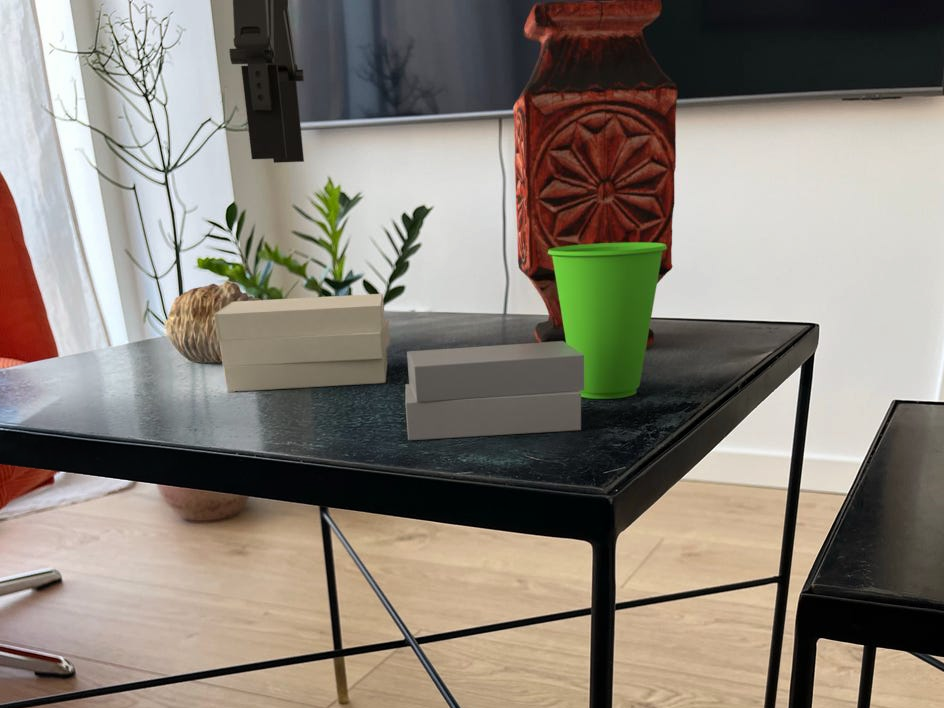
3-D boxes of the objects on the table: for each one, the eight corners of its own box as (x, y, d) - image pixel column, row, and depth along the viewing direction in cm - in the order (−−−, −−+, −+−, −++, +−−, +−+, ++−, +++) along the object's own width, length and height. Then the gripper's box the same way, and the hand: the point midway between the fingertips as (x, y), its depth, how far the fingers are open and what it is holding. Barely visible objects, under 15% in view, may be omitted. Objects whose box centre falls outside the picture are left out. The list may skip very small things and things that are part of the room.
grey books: (408, 441, 70) (402, 367, 67) (408, 417, 76) (403, 349, 74) (586, 430, 70) (586, 356, 68) (570, 408, 77) (569, 340, 75)
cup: (536, 402, 79) (532, 253, 75) (567, 381, 87) (566, 243, 82) (650, 406, 76) (653, 250, 72) (672, 383, 84) (676, 241, 80)
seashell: (173, 395, 111) (123, 313, 104) (230, 343, 116) (186, 261, 109) (258, 401, 103) (210, 313, 96) (315, 345, 108) (273, 258, 101)
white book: (217, 340, 88) (213, 314, 87) (235, 325, 97) (231, 301, 96) (382, 331, 88) (380, 305, 87) (384, 317, 97) (382, 293, 97)
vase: (643, 331, 112) (650, 14, 99) (670, 349, 99) (682, -10, 87) (518, 338, 112) (509, 21, 99) (529, 357, 99) (521, -2, 87)
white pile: (225, 393, 89) (217, 341, 87) (243, 372, 99) (236, 325, 97) (390, 384, 90) (386, 332, 88) (392, 364, 99) (388, 317, 98)
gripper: (276, -199, 67) (309, 155, 76) (311, -102, 90) (334, 161, 99) (162, -196, 67) (209, 158, 76) (226, -100, 90) (256, 164, 99)
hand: (279, 161), depth 87 cm, fingers open, 13 cm apart
